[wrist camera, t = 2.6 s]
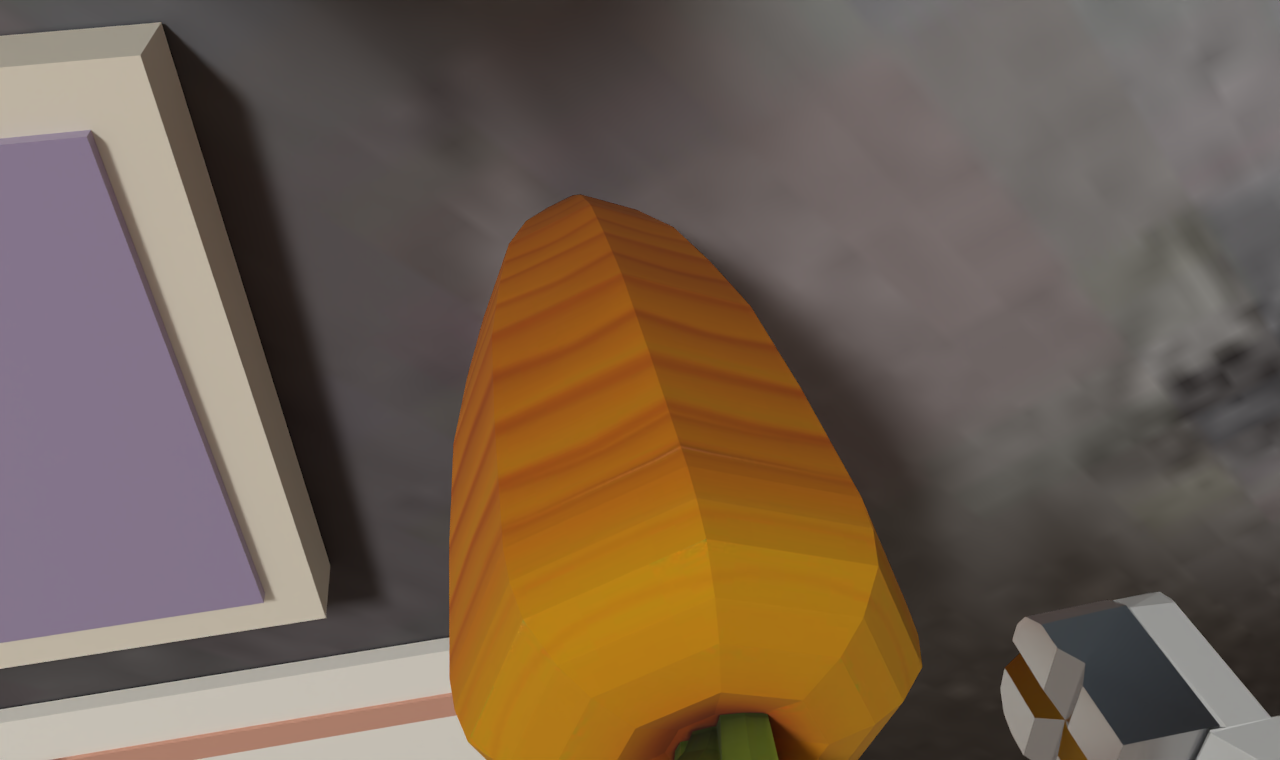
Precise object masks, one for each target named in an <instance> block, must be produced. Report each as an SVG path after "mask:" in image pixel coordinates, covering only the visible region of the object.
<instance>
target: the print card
mask: <svg viewBox="0 0 1280 760" xmlns="http://www.w3.org/2000/svg"><path fill="white" fill-rule="evenodd" d="M0 760H486V759H485V758H484V757H483V756H482V755H481V754H480V753H479V752H478V751H477V750H476V749H475V748H474V747H473V746H472V745H471V744H469V743H468V741H467V739H466V736H465V734H464V731H463V729H462V727H461V724H460V722H459V719H458V717H457V715H456V712H455V710H454V704H453V697H452V691H451V685H450V679H449V637H448V638H442V639H436V640H430V641H423V642H417V643H411V644H405V645H398V646H392V647H386V648H380V649H373V650H367V651H361V652H355V653H348V654H342V655H336V656H330V657H324V658H317V659H311V660H305V661H299V662H292V663H286V664H280V665H274V666H267V667H261V668H255V669H249V670H243V671H236V672H230V673H224V674H218V675H211V676H205V677H199V678H193V679H186V680H180V681H174V682H168V683H161V684H155V685H149V686H143V687H137V688H130V689H124V690H118V691H112V692H105V693H99V694H93V695H87V696H80V697H74V698H68V699H62V700H55V701H49V702H43V703H37V704H31V705H24V706H18V707H12V708H6V709H0Z"/></svg>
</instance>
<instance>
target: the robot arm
mask: <svg viewBox="0 0 1280 760" xmlns="http://www.w3.org/2000/svg"><path fill="white" fill-rule="evenodd" d="M1012 641H1013V642H1014V644H1015V645H1016V647H1017V649H1018V650H1019V652H1020V653H1019V654H1018V655H1017V656H1016V657H1015V658H1014V659H1013V660H1012V661H1011V662H1010V663H1009V664H1008V665H1007V666H1006V667H1005V669H1004V674H1003V678H1002V683H1001V688H1000V690H1001V697H1002V704H1003V711H1004V715H1005V718H1006V721H1007V723H1008V726H1009V728H1010V731H1011V734H1012V735H1013V737H1014V739H1015V741H1016V743H1017V744H1018V746H1019V748H1020V750H1021V752H1022V753H1023V755H1024V756H1026V757H1027V758H1029V759H1030V760H1280V715H1278V716H1272V717H1271V716H1270V715H1269V714H1268V713H1267V712H1266V710H1265V709H1264V708H1263V707H1262V706H1261V704H1260V703H1259V702H1258V701H1257V700H1256V698H1255V697H1254V696H1253V695H1252V694H1251V693H1250V691H1249V690H1248V689H1247V688H1246V687H1245V685H1244V684H1243V683H1242V682H1241V681H1240V679H1239V678H1238V677H1237V676H1236V675H1235V673H1234V672H1233V671H1232V670H1231V669H1230V668H1229V666H1228V665H1227V664H1226V663H1225V662H1224V660H1223V659H1222V658H1221V657H1220V656H1219V654H1218V653H1217V652H1216V651H1215V650H1214V648H1213V647H1212V646H1211V645H1210V644H1209V643H1208V641H1207V640H1206V639H1205V638H1204V637H1203V635H1202V634H1201V633H1200V632H1199V631H1198V629H1197V628H1196V627H1195V626H1194V625H1193V623H1192V622H1191V621H1190V620H1189V619H1188V617H1187V616H1186V615H1185V614H1184V613H1183V612H1182V610H1181V609H1180V608H1179V607H1178V606H1177V604H1176V603H1175V602H1174V601H1173V600H1172V599H1171V598H1169V597H1168V596H1166V595H1164V594H1163V593H1161V592H1149V593H1144V594H1139V595H1135V596H1130V597H1126V598H1121V599H1116V600H1112V601H1110V600H1103V601H1098V602H1093V603H1089V604H1084V605H1079V606H1074V607H1069V608H1065V609H1060V610H1055V611H1050V612H1046V613H1041V614H1036V615H1031V616H1026V617H1025V618H1024V619H1022V620H1021V621H1020V622H1019V623H1018V624H1017V626H1016V630H1015V633H1014V636H1013V640H1012Z"/></svg>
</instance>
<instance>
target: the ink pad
mask: <svg viewBox="0 0 1280 760" xmlns="http://www.w3.org/2000/svg"><path fill="white" fill-rule="evenodd" d="M329 577H330V563H329V560H328V557H327V553H326V550H325V547H324V544H323V540H322V537H321V534H320V531H319V528H318V524H317V521H316V518H315V515H314V512H313V508H312V505H311V502H310V499H309V496H308V492H307V489H306V486H305V483H304V479H303V476H302V473H301V470H300V467H299V463H298V460H297V457H296V454H295V451H294V447H293V444H292V441H291V438H290V434H289V431H288V428H287V425H286V422H285V418H284V415H283V412H282V409H281V406H280V402H279V399H278V396H277V393H276V389H275V386H274V383H273V380H272V377H271V373H270V370H269V367H268V364H267V361H266V357H265V354H264V351H263V348H262V345H261V341H260V338H259V335H258V332H257V328H256V325H255V322H254V319H253V316H252V312H251V309H250V306H249V303H248V300H247V296H246V293H245V290H244V287H243V283H242V280H241V277H240V274H239V271H238V267H237V264H236V261H235V258H234V255H233V251H232V248H231V245H230V242H229V238H228V235H227V232H226V229H225V226H224V222H223V219H222V216H221V213H220V210H219V206H218V203H217V200H216V197H215V194H214V190H213V187H212V184H211V181H210V177H209V174H208V171H207V168H206V165H205V161H204V158H203V155H202V152H201V149H200V145H199V142H198V139H197V136H196V132H195V129H194V126H193V123H192V120H191V116H190V113H189V110H188V107H187V104H186V100H185V97H184V94H183V91H182V87H181V84H180V81H179V78H178V75H177V71H176V68H175V65H174V62H173V59H172V55H171V52H170V49H169V46H168V43H167V39H166V36H165V33H164V30H163V26H162V23H161V22H158V23H147V24H135V25H123V26H111V27H99V28H88V29H76V30H64V31H52V32H40V33H29V34H17V35H5V36H0V669H2V668H8V667H15V666H21V665H28V664H34V663H40V662H47V661H53V660H60V659H66V658H72V657H79V656H85V655H92V654H98V653H105V652H111V651H117V650H124V649H130V648H137V647H143V646H149V645H156V644H162V643H169V642H175V641H182V640H188V639H194V638H201V637H207V636H214V635H220V634H226V633H233V632H239V631H246V630H252V629H259V628H265V627H271V626H278V625H284V624H291V623H297V622H303V621H310V620H316V619H323V618H326V611H327V600H328V588H329Z"/></svg>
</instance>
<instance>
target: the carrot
mask: <svg viewBox="0 0 1280 760" xmlns="http://www.w3.org/2000/svg"><path fill="white" fill-rule="evenodd" d="M921 668H922V660H921V653H920V645H919V637H918V633H917V630H916V628H915V625H914V622H913V620H912V617H911V614H910V612H909V609H908V606H907V604H906V601H905V599H904V597H903V594H902V592H901V590H900V587H899V585H898V583H897V580H896V578H895V575H894V573H893V571H892V568H891V566H890V564H889V561H888V559H887V557H886V554H885V552H884V549H883V547H882V545H881V542H880V540H879V538H878V535H877V533H876V531H875V528H874V526H873V523H872V521H871V519H870V516H869V514H868V512H867V509H866V507H865V504H864V502H863V500H862V498H861V496H860V494H859V492H858V490H857V488H856V487H855V485H854V483H853V481H852V479H851V478H850V476H849V474H848V472H847V470H846V469H845V467H844V465H843V463H842V461H841V460H840V458H839V456H838V454H837V452H836V451H835V449H834V447H833V445H832V443H831V442H830V440H829V438H828V436H827V434H826V433H825V431H824V429H823V427H822V425H821V424H820V422H819V420H818V418H817V416H816V415H815V413H814V411H813V409H812V407H811V405H810V404H809V402H808V400H807V398H806V396H805V395H804V393H803V391H802V389H801V387H800V386H799V384H798V383H797V381H796V379H795V378H794V376H793V374H792V373H791V371H790V370H789V368H788V366H787V365H786V363H785V361H784V360H783V358H782V357H781V355H780V353H779V352H778V350H777V348H776V347H775V345H774V344H773V342H772V340H771V339H770V337H769V335H768V334H767V332H766V330H765V329H764V327H763V326H762V324H761V322H760V321H759V319H758V317H757V316H756V314H755V313H754V311H753V309H752V308H751V306H750V305H749V304H748V303H747V302H746V301H745V299H744V298H743V297H742V296H741V295H740V294H739V293H738V292H737V291H736V290H735V288H734V287H733V286H732V285H731V284H730V283H729V282H728V281H727V280H726V279H725V277H724V276H723V275H722V274H721V273H720V272H719V271H718V270H717V269H716V267H715V266H714V265H713V264H712V263H711V262H710V261H709V260H708V259H707V258H706V257H705V256H704V255H703V254H702V253H700V252H699V251H698V250H697V249H696V248H695V247H694V246H693V245H692V244H691V243H690V242H689V241H688V240H687V239H685V238H684V237H683V236H682V235H681V234H680V233H679V232H678V231H677V230H676V229H675V228H674V227H672V226H670V225H668V224H666V223H663V222H661V221H659V220H657V219H655V218H653V217H651V216H649V215H646V214H644V213H642V212H640V211H638V210H635V209H632V208H628V207H624V206H621V205H617V204H614V203H610V202H606V201H603V200H599V199H595V198H592V197H588V196H585V195H581V194H580V195H573V196H570V197H568V198H566V199H564V200H562V201H560V202H558V203H556V204H554V205H552V206H550V207H548V208H547V209H545V210H543V211H542V212H540V213H538V214H537V215H535V216H533V217H532V218H530V219H529V220H527V221H526V222H525V223H524V225H523V226H522V227H521V229H520V230H519V231H518V233H517V234H516V235H515V237H514V238H513V239H512V241H511V242H510V243H509V246H508V249H507V251H506V254H505V257H504V260H503V263H502V266H501V269H500V272H499V275H498V278H497V280H496V283H495V286H494V289H493V292H492V295H491V298H490V301H489V304H488V307H487V310H486V312H485V315H484V318H483V322H482V326H481V329H480V333H479V336H478V340H477V344H476V347H475V351H474V355H473V358H472V362H471V366H470V369H469V373H468V377H467V381H466V386H465V391H464V396H463V401H462V406H461V410H460V415H459V420H458V425H457V430H456V435H455V440H454V445H453V469H452V493H451V517H450V542H449V679H450V685H451V691H452V697H453V704H454V710H455V712H456V715H457V717H458V719H459V722H460V724H461V727H462V729H463V731H464V734H465V736H466V739H467V741H468V743H469V744H471V745H472V746H473V747H474V748H475V749H476V750H477V751H478V752H479V753H480V754H481V755H482V756H483V757H484V758H485V759H486V760H858V759H859V758H860V756H861V755H862V754H863V752H864V751H865V750H866V749H867V747H868V746H869V745H870V743H871V742H872V741H873V740H874V738H875V737H876V736H877V735H878V733H879V732H880V731H881V729H882V728H883V727H884V726H885V724H886V723H887V722H888V720H889V719H890V718H891V717H892V715H893V714H894V713H895V711H896V710H897V709H898V708H899V706H900V705H901V704H902V703H903V701H904V699H905V698H906V696H907V694H908V692H909V690H910V688H911V687H912V685H913V683H914V681H915V679H916V677H917V676H918V674H919V672H920V670H921Z"/></svg>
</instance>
